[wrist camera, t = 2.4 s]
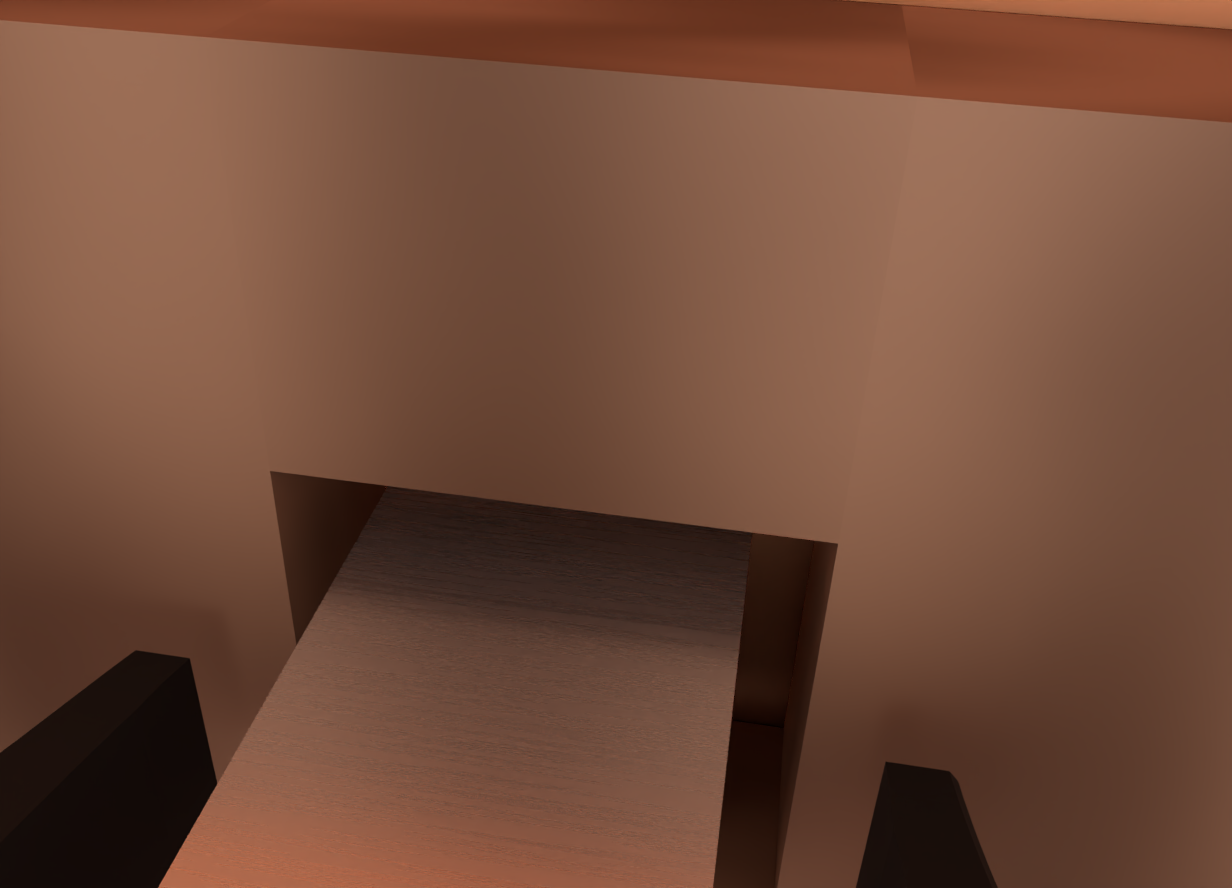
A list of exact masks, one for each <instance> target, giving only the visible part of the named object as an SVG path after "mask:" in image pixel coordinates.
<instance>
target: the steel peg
mask: <svg viewBox="0 0 1232 888" xmlns="http://www.w3.org/2000/svg"><path fill="white" fill-rule="evenodd" d="M751 538H752V532H744V531H736V530H729V529H721V528H713V527H705V526H697V525H689V524H682V523H674V522H666V521H658V520H650V519H643V518H635V517H627V516H619V515H611V514H603V513H596V512H588V511H580V510H572V509H564V508H556V507H549V506H541V505H533V504H525V503H517V502H510V501H502V500H494V499H486V498H478V497H470V496H463V495H455V494H447V493H439V492H431V491H423V490H416V489H408V488H400V487H392V486H388V487H387V488H386V490H385V492H384V494H383V495H382V497H381V499H380V501H379V502H378V504H377V506H376V508H375V509H374V511H373V513H372V515H371V516H370V518H369V520H368V522H367V523H366V525H365V527H364V529H363V530H362V532H361V534H360V536H359V537H358V539H357V541H356V543H355V544H354V546H353V548H352V550H351V551H350V553H349V555H348V557H347V558H346V560H345V562H344V564H343V565H342V567H341V569H340V571H339V572H338V574H337V576H336V578H335V579H334V581H333V583H332V584H331V586H330V588H329V590H328V591H327V593H326V595H325V597H324V598H323V600H322V602H321V604H320V605H319V607H318V609H317V611H316V612H315V614H314V616H313V618H312V619H311V621H310V623H309V625H308V626H307V628H306V630H305V632H304V633H303V635H302V637H301V639H300V640H299V642H298V644H297V646H296V647H295V649H294V651H293V653H292V654H291V656H290V658H289V660H288V661H287V663H286V665H285V667H284V668H283V670H282V672H281V674H280V675H279V677H278V679H277V681H276V682H275V684H274V686H273V688H272V689H271V691H270V693H269V695H268V696H267V698H266V700H265V702H264V703H263V705H262V707H261V709H260V710H259V712H258V714H257V716H256V717H255V719H254V721H253V723H252V724H251V726H250V728H249V730H248V731H247V733H246V735H245V737H244V738H243V740H242V742H241V744H240V745H239V747H238V749H237V751H236V752H235V754H234V756H233V758H232V759H231V761H230V763H229V765H228V766H227V768H226V770H225V772H224V773H223V775H222V777H221V779H220V780H219V782H218V784H217V786H216V787H215V789H214V791H213V793H212V794H211V796H210V798H209V800H208V801H207V803H206V805H205V807H204V808H203V810H202V812H201V814H200V815H199V817H198V819H197V821H196V822H195V824H194V826H193V828H192V829H191V831H190V833H189V835H188V836H187V838H186V840H185V842H184V843H183V845H182V847H181V849H180V850H179V852H178V854H177V856H176V857H175V859H174V861H173V863H172V864H171V866H170V868H169V870H168V871H167V873H166V875H165V877H164V878H163V880H162V882H161V884H160V885H159V887H158V888H713V882H714V873H715V864H716V855H717V846H718V837H719V828H720V819H721V810H722V801H723V792H724V783H725V774H726V765H727V755H728V746H729V737H730V728H731V719H732V710H733V701H734V692H735V683H736V674H737V665H738V656H739V647H740V638H741V628H742V619H743V610H744V601H745V592H746V583H747V574H748V565H749V556H750V547H751Z"/></svg>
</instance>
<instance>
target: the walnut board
mask: <svg viewBox="0 0 1232 888" xmlns="http://www.w3.org/2000/svg"><path fill="white" fill-rule="evenodd" d="M385 486H392V487H400V488H408V489H416V490H423V491H431V492H439V493H447V494H455V495H463V496H470V497H478V498H486V499H494V500H502V501H510V502H517V503H525V504H533V505H541V506H549V507H556V508H564V509H572V510H580V511H588V512H596V513H603V514H611V515H619V516H627V517H635V518H643V519H650V520H658V521H666V522H674V523H682V524H689V525H697V526H705V527H713V528H721V529H729V530H736V531H744V532H752V533H760V534H768V535H776V536H783V537H791V538H799V539H807V540H814V546H813V552H812V558H811V564H810V570H809V577H808V583H807V589H806V595H805V601H804V607H803V613H802V620H801V626H800V632H799V638H798V644H797V650H796V656H795V662H794V669H793V675H792V681H791V687H790V693H789V699H788V705H787V711H786V718H785V724H784V728H779V727H772V726H766V725H759V724H752V723H745V722H738V721H732V720H731V728H730V737H729V746H728V755H727V765H726V774H725V783H724V792H723V801H722V810H721V819H720V828H719V837H718V846H717V855H716V864H715V873H714V882H713V888H856V885H857V881H858V876H859V872H860V868H861V864H862V859H863V855H864V851H865V847H866V842H867V838H868V834H869V830H870V825H871V821H872V817H873V813H874V808H875V804H876V800H877V796H878V791H879V787H880V783H881V779H882V774H883V770H884V766H885V762H892V763H899V764H906V765H912V766H919V767H926V768H933V769H939V770H946V771H950V772H951V773H952V775H953V776H954V777H955V778H956V779H957V780H958V782H959V785H960V788H961V792H962V795H963V798H964V801H965V804H966V807H967V809H968V812H969V815H970V818H971V821H972V824H973V826H974V829H975V832H976V834H977V837H978V840H979V842H980V845H981V848H982V850H983V853H984V855H985V858H986V860H987V863H988V865H989V868H990V870H991V872H992V875H993V877H994V880H995V882H996V884H997V887H998V888H1232V30H1227V29H1213V28H1200V27H1187V26H1173V25H1160V24H1146V23H1133V22H1119V21H1106V20H1093V19H1079V18H1066V17H1052V16H1039V15H1026V14H1012V13H999V12H985V11H972V10H959V9H945V8H932V7H918V6H905V5H892V4H878V3H865V2H851V1H838V0H0V752H2V751H3V750H4V749H6V748H7V747H8V746H10V745H11V744H12V743H14V742H15V741H16V740H18V739H19V738H20V737H22V736H23V735H24V734H25V733H27V732H28V731H29V730H31V729H32V728H33V727H35V726H36V725H37V724H39V723H40V722H41V721H43V720H44V719H45V718H47V717H48V716H49V715H50V714H52V713H53V712H54V711H56V710H57V709H58V708H60V707H61V706H62V705H63V704H65V703H66V702H67V701H69V700H70V699H71V698H73V697H74V696H75V695H77V694H78V693H79V692H81V691H82V690H83V689H84V688H86V687H87V686H88V685H90V684H91V683H92V682H94V681H95V680H96V679H98V678H99V677H100V676H101V675H103V674H104V673H105V672H107V671H108V670H109V669H111V668H112V667H113V666H115V665H116V664H117V663H119V662H120V661H122V660H123V659H124V658H126V657H127V656H128V655H130V654H131V653H132V652H134V651H135V650H138V651H145V652H152V653H158V654H165V655H172V656H178V657H185V658H190V661H191V666H192V670H193V675H194V679H195V684H196V688H197V693H198V698H199V702H200V707H201V711H202V716H203V720H204V725H205V729H206V734H207V738H208V743H209V747H210V752H211V757H212V761H213V766H214V770H215V775H216V779H217V784H218V782H219V780H220V779H221V777H222V775H223V773H224V772H225V770H226V768H227V766H228V765H229V763H230V761H231V759H232V758H233V756H234V754H235V752H236V751H237V749H238V747H239V745H240V744H241V742H242V740H243V738H244V737H245V735H246V733H247V731H248V730H249V728H250V726H251V724H252V723H253V721H254V719H255V717H256V716H257V714H258V712H259V710H260V709H261V707H262V705H263V703H264V702H265V700H266V698H267V696H268V695H269V693H270V691H271V689H272V688H273V686H274V684H275V682H276V681H277V679H278V677H279V675H280V674H281V672H282V670H283V668H284V667H285V665H286V663H287V661H288V660H289V658H290V656H291V654H292V653H293V651H294V649H295V647H296V646H297V644H298V642H299V640H300V639H301V637H302V635H303V633H304V632H305V630H306V628H307V626H308V625H309V623H310V621H311V619H312V618H313V616H314V614H315V612H316V611H317V609H318V607H319V605H320V604H321V602H322V600H323V598H324V597H325V595H326V593H327V591H328V590H329V588H330V586H331V584H332V583H333V581H334V579H335V578H336V576H337V574H338V572H339V571H340V569H341V567H342V565H343V564H344V562H345V560H346V558H347V557H348V555H349V553H350V551H351V550H352V548H353V546H354V544H355V543H356V541H357V539H358V537H359V536H360V534H361V532H362V530H363V529H364V527H365V525H366V523H367V522H368V520H369V518H370V516H371V515H372V513H373V511H374V509H375V508H376V506H377V504H378V502H379V501H380V499H381V497H382V495H383V494H384V492H385Z"/></svg>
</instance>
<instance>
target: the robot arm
mask: <svg viewBox="0 0 1232 888" xmlns="http://www.w3.org/2000/svg"><path fill="white" fill-rule="evenodd" d="M216 786H217V779H216V775H215V770H214V766H213V761H212V757H211V752H210V747H209V743H208V738H207V734H206V729H205V725H204V720H203V716H202V711H201V707H200V702H199V698H198V693H197V688H196V684H195V679H194V675H193V670H192V666H191V661H190V658H185V657H178V656H172V655H165V654H158V653H152V652H145V651H138V650H135V651H134V652H132V653H131V654H130V655H128V656H127V657H126V658H124V659H123V660H122V661H120V662H119V663H117V664H116V665H115V666H113V667H112V668H111V669H109V670H108V671H107V672H105V673H104V674H103V675H101V676H100V677H99V678H98V679H96V680H95V681H94V682H92V683H91V684H90V685H88V686H87V687H86V688H84V689H83V690H82V691H81V692H79V693H78V694H77V695H75V696H74V697H73V698H71V699H70V700H69V701H67V702H66V703H65V704H63V705H62V706H61V707H60V708H58V709H57V710H56V711H54V712H53V713H52V714H50V715H49V716H48V717H47V718H45V719H44V720H43V721H41V722H40V723H39V724H37V725H36V726H35V727H33V728H32V729H31V730H29V731H28V732H27V733H25V734H24V735H23V736H22V737H20V738H19V739H18V740H16V741H15V742H14V743H12V744H11V745H10V746H8V747H7V748H6V749H4V750H3V751H2V752H0V888H158V887H159V885H160V884H161V882H162V880H163V878H164V877H165V875H166V873H167V871H168V870H169V868H170V866H171V864H172V863H173V861H174V859H175V857H176V856H177V854H178V852H179V850H180V849H181V847H182V845H183V843H184V842H185V840H186V838H187V836H188V835H189V833H190V831H191V829H192V828H193V826H194V824H195V822H196V821H197V819H198V817H199V815H200V814H201V812H202V810H203V808H204V807H205V805H206V803H207V801H208V800H209V798H210V796H211V794H212V793H213V791H214V789H215V787H216ZM856 888H998V887H997V884H996V882H995V880H994V877H993V875H992V872H991V870H990V868H989V865H988V863H987V860H986V858H985V855H984V853H983V850H982V848H981V845H980V842H979V840H978V837H977V834H976V832H975V829H974V826H973V824H972V821H971V818H970V815H969V812H968V809H967V807H966V804H965V801H964V798H963V795H962V792H961V788H960V785H959V782H958V780H957V779H956V778H955V777H954V776H953V775H952V773H951V772H950V771H946V770H939V769H933V768H926V767H919V766H912V765H906V764H899V763H892V762H885V766H884V770H883V774H882V779H881V783H880V787H879V791H878V796H877V800H876V804H875V808H874V813H873V817H872V821H871V825H870V830H869V834H868V838H867V842H866V847H865V851H864V855H863V859H862V864H861V868H860V872H859V876H858V881H857V885H856Z"/></svg>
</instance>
